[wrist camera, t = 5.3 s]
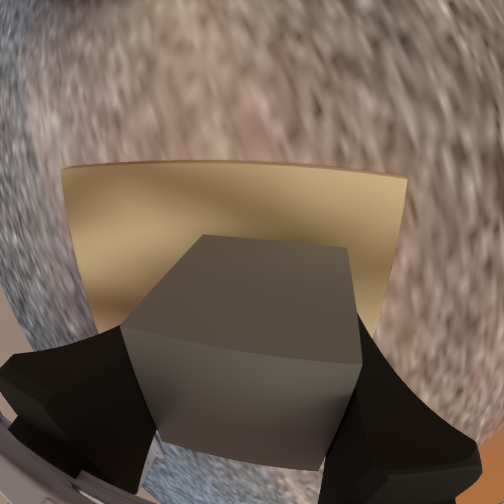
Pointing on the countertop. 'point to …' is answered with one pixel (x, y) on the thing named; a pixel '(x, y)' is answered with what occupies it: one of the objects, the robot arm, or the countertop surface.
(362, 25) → the countertop surface
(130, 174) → the board
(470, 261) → the countertop surface
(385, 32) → the countertop surface
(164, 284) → the grey cube
